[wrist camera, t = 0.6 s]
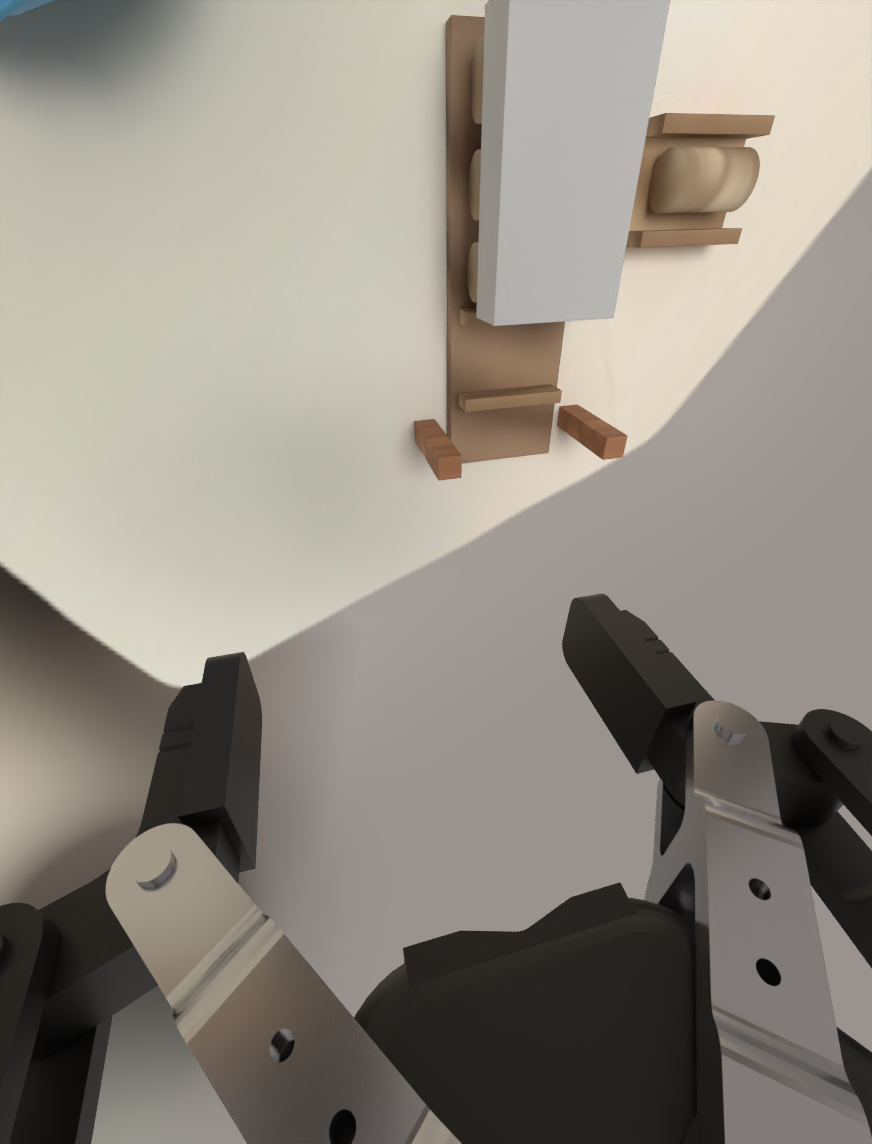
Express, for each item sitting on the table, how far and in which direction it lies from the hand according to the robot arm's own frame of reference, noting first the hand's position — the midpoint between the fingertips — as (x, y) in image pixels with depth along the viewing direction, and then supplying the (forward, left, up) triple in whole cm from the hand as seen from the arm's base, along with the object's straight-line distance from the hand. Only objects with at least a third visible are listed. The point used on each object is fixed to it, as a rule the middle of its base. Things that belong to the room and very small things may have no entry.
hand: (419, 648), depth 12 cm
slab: (-10, +12, -21) cm, 26 cm away
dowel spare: (-10, +23, -25) cm, 35 cm away
